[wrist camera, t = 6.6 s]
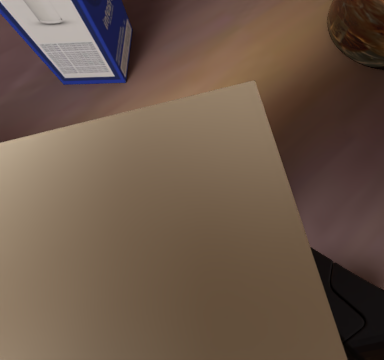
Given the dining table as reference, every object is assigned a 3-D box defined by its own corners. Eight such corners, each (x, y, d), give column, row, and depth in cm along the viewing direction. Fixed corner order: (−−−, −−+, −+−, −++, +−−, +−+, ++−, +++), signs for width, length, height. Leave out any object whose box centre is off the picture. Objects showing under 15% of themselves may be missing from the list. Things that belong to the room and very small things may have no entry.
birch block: (254, 313, 14) (433, 620, 2) (162, 332, 15) (-168, 709, 2) (230, 221, 16) (254, 80, 4) (148, 239, 16) (-96, 166, 4)
